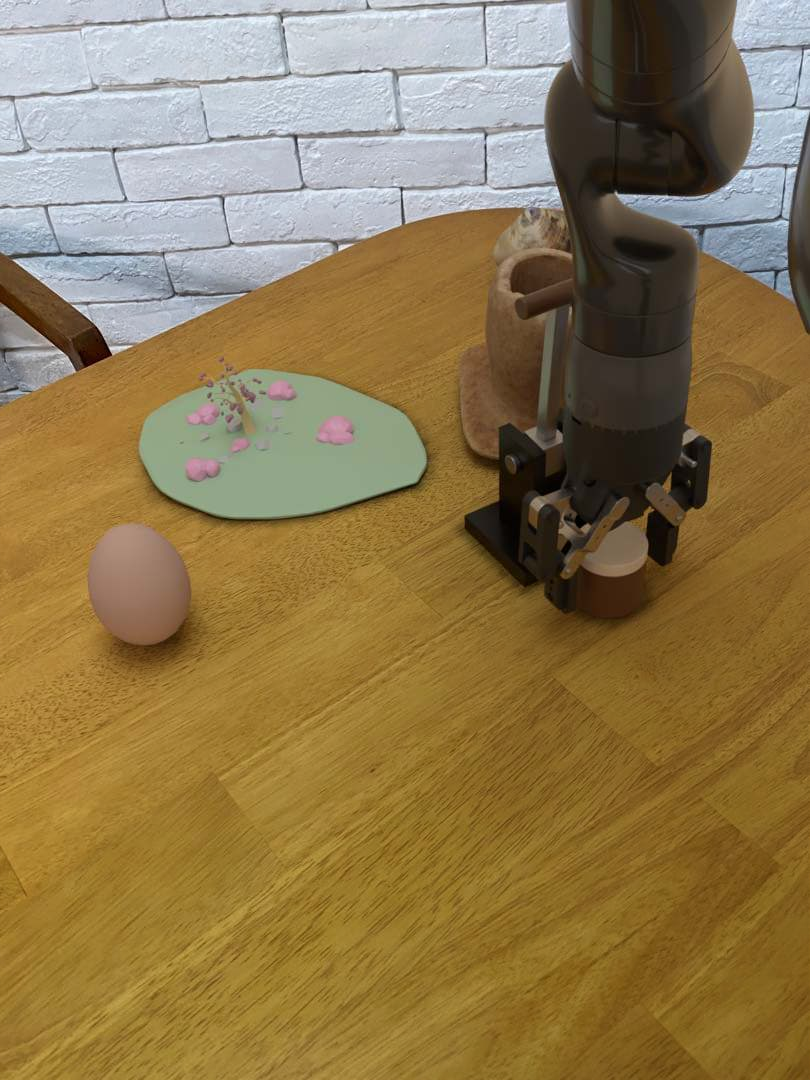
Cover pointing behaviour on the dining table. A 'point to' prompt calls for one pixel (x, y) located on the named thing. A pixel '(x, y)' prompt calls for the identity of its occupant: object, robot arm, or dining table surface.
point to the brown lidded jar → (613, 573)
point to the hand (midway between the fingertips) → (610, 582)
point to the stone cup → (509, 351)
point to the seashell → (534, 233)
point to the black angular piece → (515, 499)
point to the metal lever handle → (549, 366)
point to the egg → (138, 584)
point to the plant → (278, 446)
